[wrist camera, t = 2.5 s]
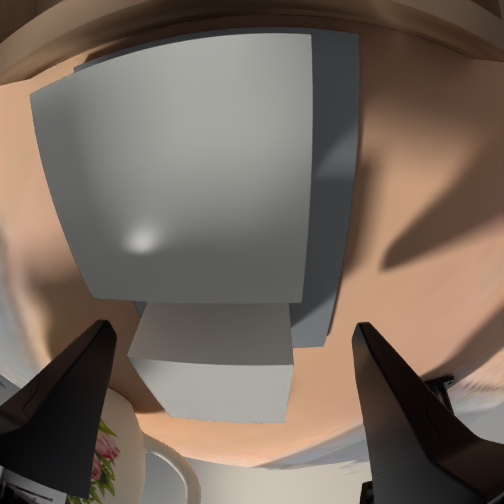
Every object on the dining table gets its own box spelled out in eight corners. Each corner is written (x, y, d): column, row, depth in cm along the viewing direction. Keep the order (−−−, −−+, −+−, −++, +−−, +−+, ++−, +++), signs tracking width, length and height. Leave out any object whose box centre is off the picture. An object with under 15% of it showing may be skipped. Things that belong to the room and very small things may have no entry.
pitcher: (197, 439, 23) (185, 552, 12) (41, 383, 20) (8, 484, 9) (224, 407, 17) (209, 580, 6) (7, 325, 14) (-51, 463, 3)
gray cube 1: (284, 258, 9) (293, 364, 6) (281, 334, 11) (284, 422, 8) (165, 260, 9) (126, 356, 6) (188, 333, 11) (170, 416, 8)
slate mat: (354, 36, 5) (359, 34, 5) (322, 339, 12) (324, 346, 12) (80, 67, 6) (73, 67, 5) (155, 337, 12) (153, 344, 12)
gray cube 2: (283, 61, 6) (311, 34, 2) (285, 201, 8) (301, 302, 5) (132, 79, 6) (29, 94, 2) (153, 207, 8) (93, 298, 5)
